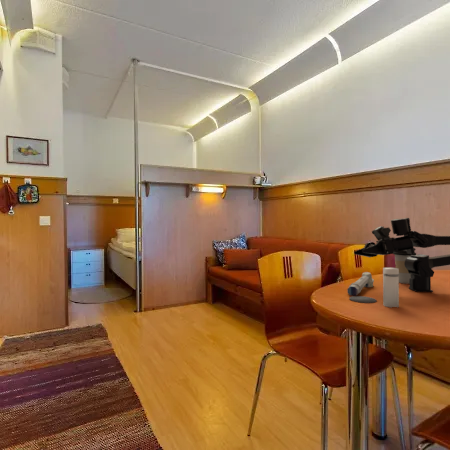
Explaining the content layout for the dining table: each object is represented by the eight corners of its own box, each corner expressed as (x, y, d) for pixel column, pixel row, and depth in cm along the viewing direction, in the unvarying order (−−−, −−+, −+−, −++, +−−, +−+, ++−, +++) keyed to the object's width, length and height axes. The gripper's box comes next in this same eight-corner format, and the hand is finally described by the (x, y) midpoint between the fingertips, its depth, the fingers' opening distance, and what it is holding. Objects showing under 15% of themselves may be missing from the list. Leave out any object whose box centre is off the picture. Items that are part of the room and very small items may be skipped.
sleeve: (394, 304, 105) (394, 267, 105) (401, 307, 101) (401, 269, 101) (380, 303, 106) (380, 267, 106) (386, 307, 101) (386, 269, 101)
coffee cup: (421, 284, 138) (421, 250, 138) (400, 284, 138) (399, 251, 138) (408, 280, 147) (408, 249, 147) (389, 280, 148) (388, 249, 147)
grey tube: (345, 285, 119) (362, 268, 139) (345, 301, 120) (362, 283, 140) (359, 286, 116) (374, 269, 136) (360, 303, 117) (375, 284, 136)
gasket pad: (370, 297, 115) (370, 296, 115) (380, 303, 106) (380, 302, 106) (346, 296, 116) (345, 295, 116) (354, 302, 107) (354, 302, 107)
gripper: (380, 229, 137) (345, 236, 137) (402, 221, 118) (362, 229, 118) (387, 254, 135) (352, 260, 135) (410, 250, 116) (369, 258, 116)
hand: (358, 252), depth 126 cm, fingers open, 9 cm apart
